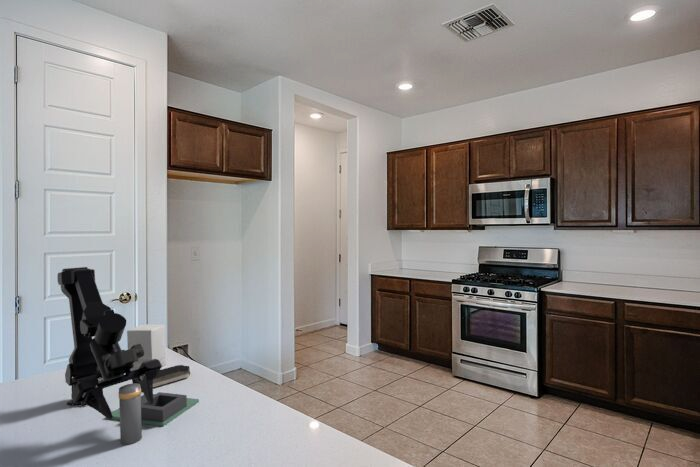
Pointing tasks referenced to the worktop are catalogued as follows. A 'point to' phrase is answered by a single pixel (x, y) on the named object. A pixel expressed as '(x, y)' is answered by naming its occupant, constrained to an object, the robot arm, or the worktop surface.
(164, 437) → the worktop surface
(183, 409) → the header board
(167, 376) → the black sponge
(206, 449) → the worktop surface
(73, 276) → the robot arm
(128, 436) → the plug
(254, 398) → the worktop surface
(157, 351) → the supplement box
